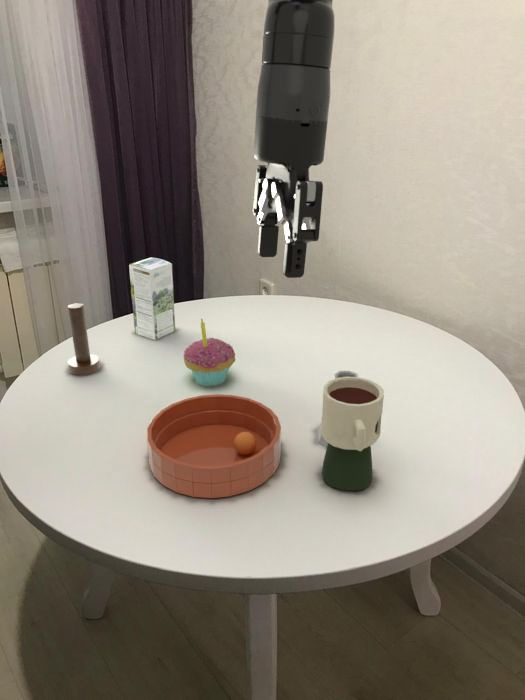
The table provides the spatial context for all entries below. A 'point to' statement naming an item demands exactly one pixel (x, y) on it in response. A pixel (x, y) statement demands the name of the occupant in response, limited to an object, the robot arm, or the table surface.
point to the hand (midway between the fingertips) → (279, 266)
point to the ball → (245, 443)
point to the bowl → (213, 445)
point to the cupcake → (209, 359)
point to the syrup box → (152, 297)
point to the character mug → (350, 430)
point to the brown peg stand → (81, 344)
